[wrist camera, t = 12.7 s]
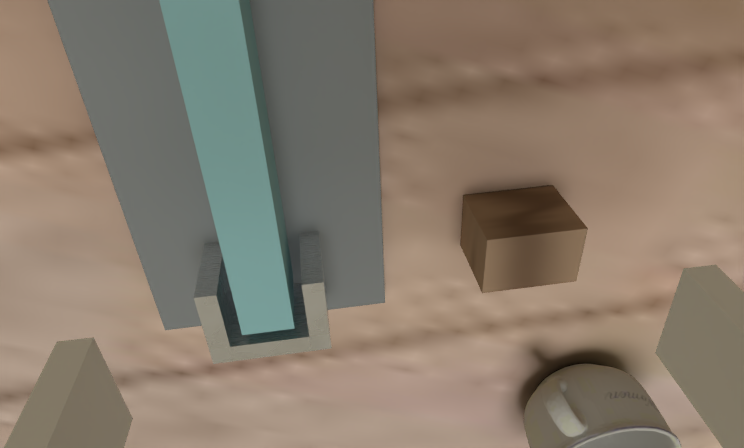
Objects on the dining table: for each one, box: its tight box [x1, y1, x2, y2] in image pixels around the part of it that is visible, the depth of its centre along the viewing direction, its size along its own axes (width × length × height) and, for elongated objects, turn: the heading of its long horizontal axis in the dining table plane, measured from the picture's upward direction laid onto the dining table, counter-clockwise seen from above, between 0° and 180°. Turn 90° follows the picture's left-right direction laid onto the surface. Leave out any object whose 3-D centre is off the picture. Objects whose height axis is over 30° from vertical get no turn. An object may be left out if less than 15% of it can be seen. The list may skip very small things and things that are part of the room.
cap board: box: [48, 0, 385, 330], centre depth 29 cm, size 15×31×1 cm, turn 2°
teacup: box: [524, 364, 681, 448], centre depth 44 cm, size 14×11×8 cm
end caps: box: [194, 231, 331, 364], centre depth 27 cm, size 7×28×5 cm, turn 2°
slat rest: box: [460, 186, 588, 293], centre depth 29 cm, size 6×24×5 cm, turn 2°
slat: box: [159, 0, 295, 335], centre depth 27 cm, size 3×24×5 cm, turn 3°
